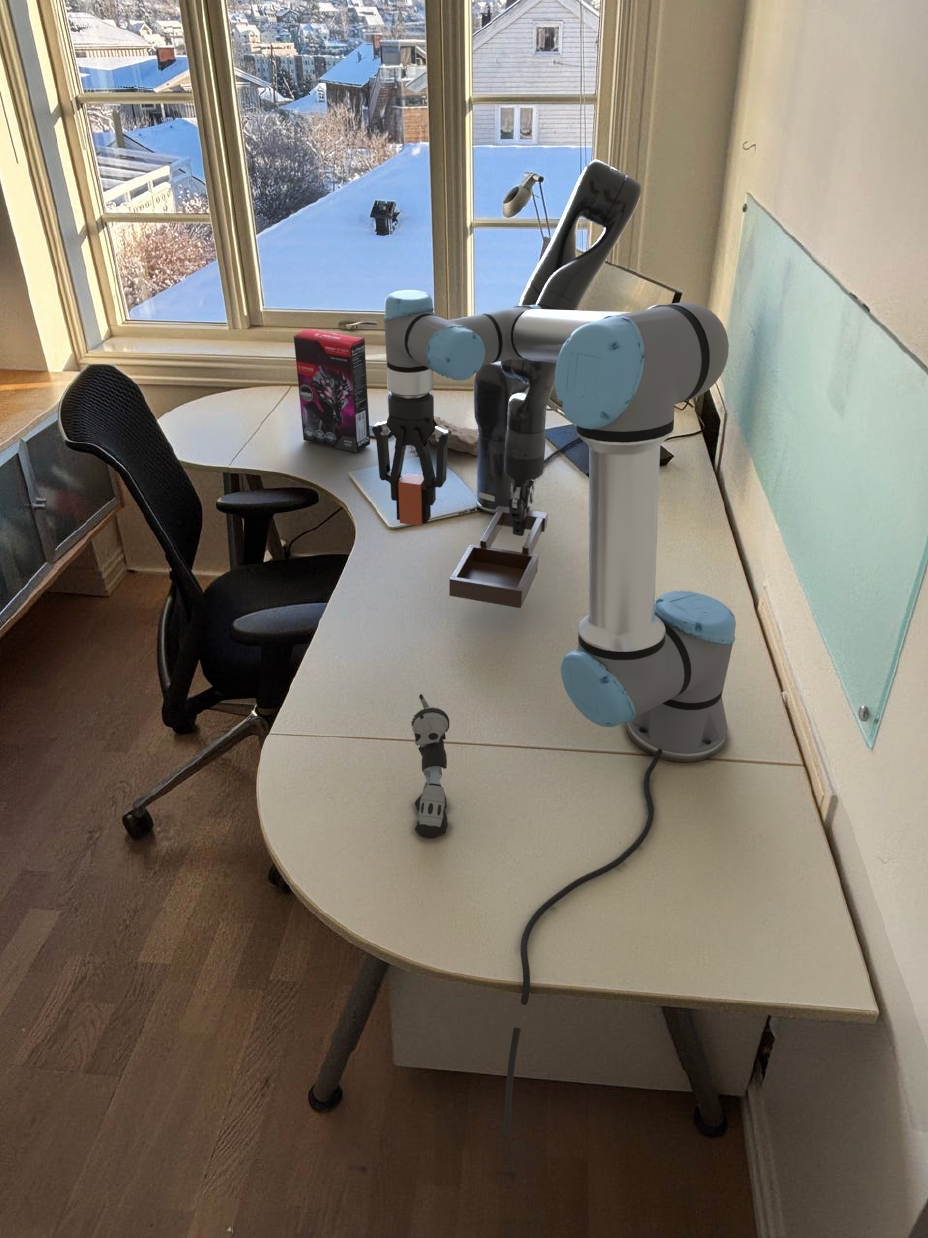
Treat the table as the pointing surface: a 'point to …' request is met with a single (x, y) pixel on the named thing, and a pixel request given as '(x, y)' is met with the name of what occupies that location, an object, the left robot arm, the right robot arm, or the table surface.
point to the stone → (458, 437)
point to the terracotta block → (411, 499)
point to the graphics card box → (333, 389)
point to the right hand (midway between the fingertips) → (413, 518)
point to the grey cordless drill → (431, 769)
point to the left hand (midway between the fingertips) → (520, 530)
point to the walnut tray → (499, 564)
